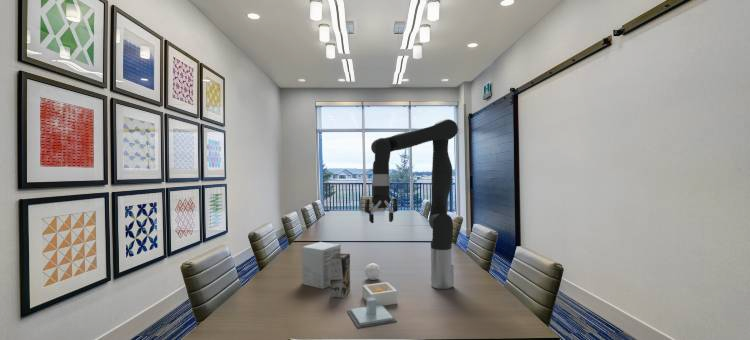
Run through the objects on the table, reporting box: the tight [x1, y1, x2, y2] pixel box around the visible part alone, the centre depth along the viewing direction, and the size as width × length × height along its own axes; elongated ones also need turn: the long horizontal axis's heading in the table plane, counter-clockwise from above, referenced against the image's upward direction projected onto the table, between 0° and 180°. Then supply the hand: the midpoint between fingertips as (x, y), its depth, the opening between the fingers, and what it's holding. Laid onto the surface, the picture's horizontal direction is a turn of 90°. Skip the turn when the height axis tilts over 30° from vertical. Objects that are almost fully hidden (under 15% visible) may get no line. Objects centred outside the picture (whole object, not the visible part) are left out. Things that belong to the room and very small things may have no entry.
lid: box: [350, 297, 394, 325], centre depth 118 cm, size 12×12×6 cm
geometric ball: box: [364, 262, 382, 281], centre depth 159 cm, size 8×8×8 cm
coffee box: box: [329, 253, 351, 299], centre depth 141 cm, size 9×6×16 cm
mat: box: [346, 305, 397, 329], centre depth 118 cm, size 14×14×1 cm
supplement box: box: [301, 241, 342, 290], centre depth 155 cm, size 13×13×18 cm
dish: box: [361, 281, 398, 307], centre depth 133 cm, size 11×11×5 cm
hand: (381, 222), depth 142 cm, fingers open, 8 cm apart
